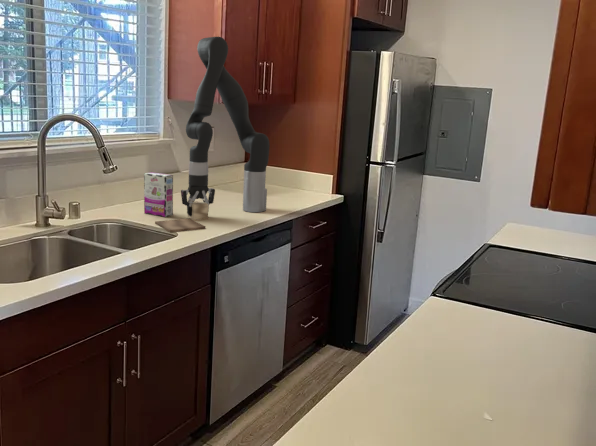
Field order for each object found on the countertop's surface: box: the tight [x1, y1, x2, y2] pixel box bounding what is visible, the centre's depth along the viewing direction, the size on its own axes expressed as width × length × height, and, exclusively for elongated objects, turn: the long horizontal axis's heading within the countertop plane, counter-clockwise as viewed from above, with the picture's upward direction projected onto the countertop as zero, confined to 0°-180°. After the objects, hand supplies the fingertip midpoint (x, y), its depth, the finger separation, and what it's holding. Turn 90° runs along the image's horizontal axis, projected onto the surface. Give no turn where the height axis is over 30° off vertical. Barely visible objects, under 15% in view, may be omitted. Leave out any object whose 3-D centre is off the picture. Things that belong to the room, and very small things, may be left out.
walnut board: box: [154, 217, 206, 233], centre depth 219 cm, size 14×14×1 cm
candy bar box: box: [143, 171, 174, 218], centre depth 234 cm, size 11×5×16 cm, turn 62°
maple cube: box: [187, 200, 209, 221], centre depth 233 cm, size 6×6×6 cm
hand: (197, 214), depth 234 cm, fingers closed on maple cube, 6 cm apart
